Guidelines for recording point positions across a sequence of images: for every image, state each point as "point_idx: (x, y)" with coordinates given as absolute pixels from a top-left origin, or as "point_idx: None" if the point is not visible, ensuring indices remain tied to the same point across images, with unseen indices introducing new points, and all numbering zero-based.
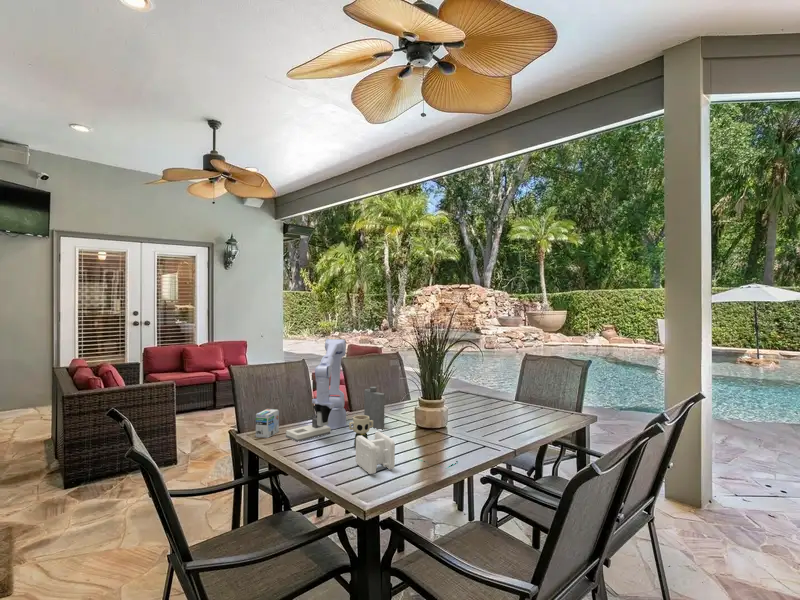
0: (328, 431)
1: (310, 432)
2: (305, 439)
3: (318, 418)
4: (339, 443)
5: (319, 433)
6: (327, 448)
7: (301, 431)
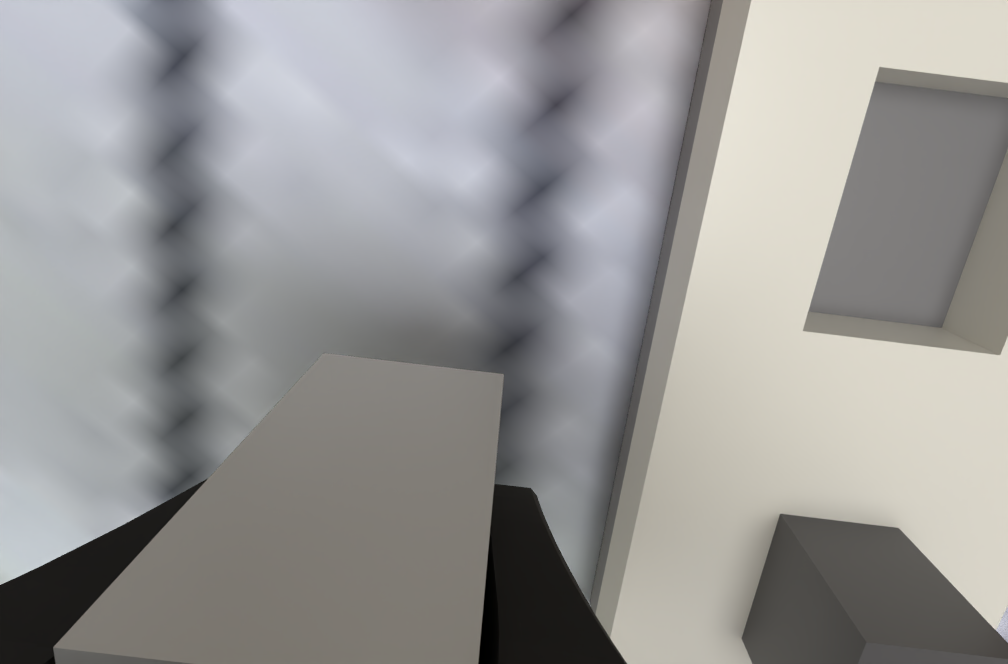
0: (599, 599)
1: (685, 293)
2: (679, 163)
3: (393, 469)
4: (134, 384)
5: (632, 453)
6: (43, 100)
7: (972, 311)
